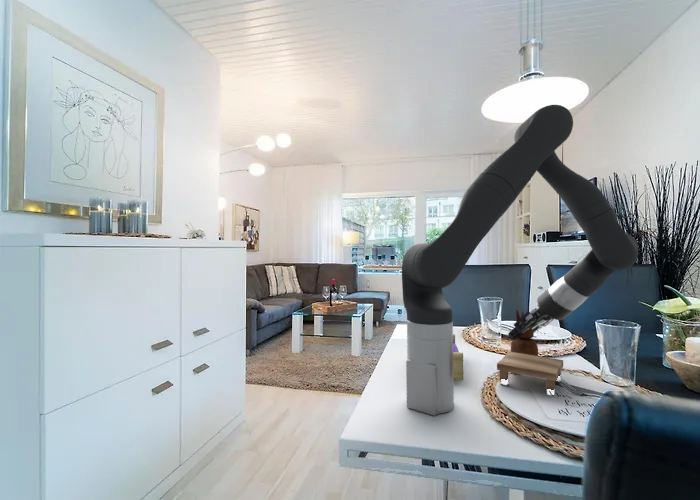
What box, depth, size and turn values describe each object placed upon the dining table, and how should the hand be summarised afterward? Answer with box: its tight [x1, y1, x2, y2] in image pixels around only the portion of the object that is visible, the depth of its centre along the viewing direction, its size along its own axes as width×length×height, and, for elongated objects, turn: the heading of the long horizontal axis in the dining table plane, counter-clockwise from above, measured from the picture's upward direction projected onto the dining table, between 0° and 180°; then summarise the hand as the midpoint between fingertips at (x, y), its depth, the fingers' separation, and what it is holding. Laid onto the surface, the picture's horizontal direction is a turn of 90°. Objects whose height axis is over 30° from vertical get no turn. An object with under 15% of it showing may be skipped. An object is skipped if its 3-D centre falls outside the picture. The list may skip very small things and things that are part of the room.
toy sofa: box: [453, 333, 465, 381], centre depth 94 cm, size 21×9×10 cm, turn 169°
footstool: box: [496, 351, 564, 390], centre depth 82 cm, size 12×12×5 cm
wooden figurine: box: [510, 309, 539, 356], centre depth 94 cm, size 7×6×15 cm
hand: (518, 335), depth 96 cm, fingers open, 7 cm apart
